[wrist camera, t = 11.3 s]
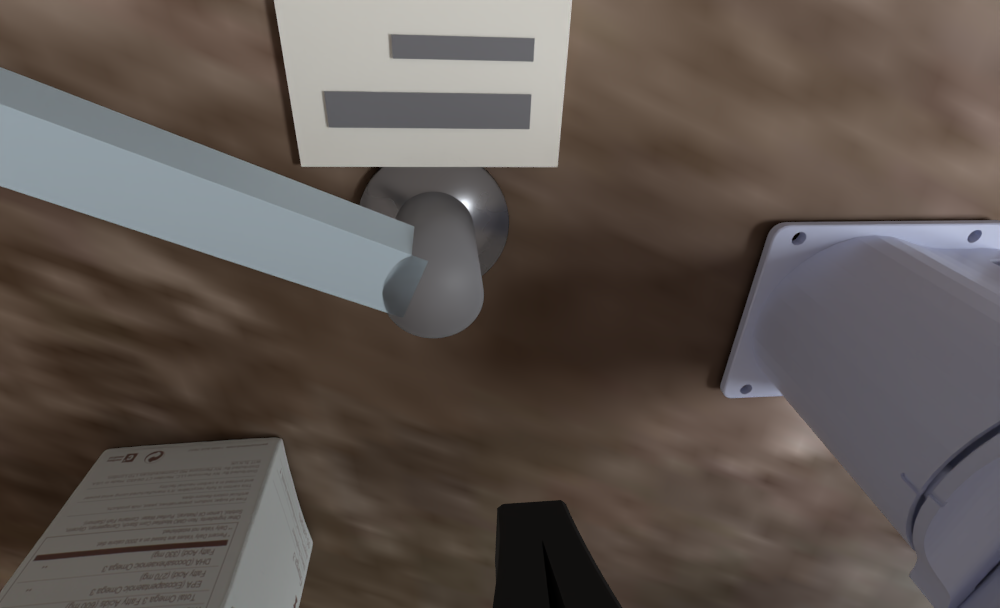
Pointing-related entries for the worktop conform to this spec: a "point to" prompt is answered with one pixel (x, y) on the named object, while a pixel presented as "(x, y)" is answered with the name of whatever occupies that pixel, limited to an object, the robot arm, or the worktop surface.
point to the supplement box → (173, 532)
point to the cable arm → (241, 209)
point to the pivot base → (460, 182)
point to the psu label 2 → (426, 81)
